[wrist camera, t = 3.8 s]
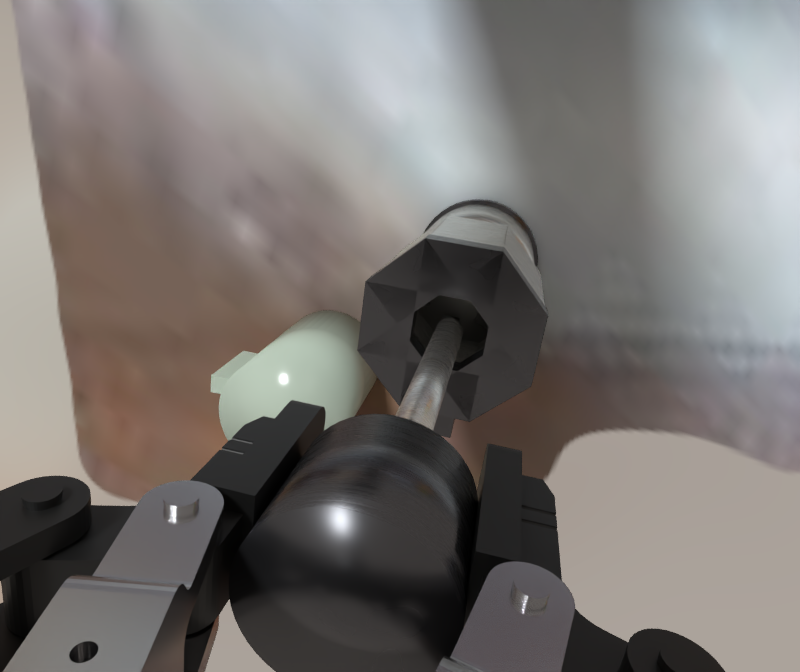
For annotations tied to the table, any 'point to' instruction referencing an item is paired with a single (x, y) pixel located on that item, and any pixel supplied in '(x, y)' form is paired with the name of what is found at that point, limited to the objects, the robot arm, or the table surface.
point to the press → (460, 308)
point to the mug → (297, 373)
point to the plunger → (365, 541)
